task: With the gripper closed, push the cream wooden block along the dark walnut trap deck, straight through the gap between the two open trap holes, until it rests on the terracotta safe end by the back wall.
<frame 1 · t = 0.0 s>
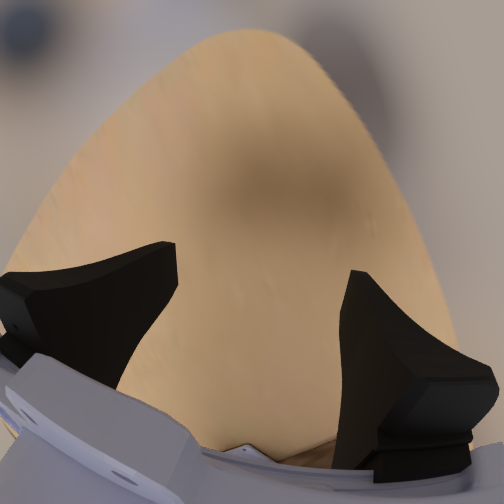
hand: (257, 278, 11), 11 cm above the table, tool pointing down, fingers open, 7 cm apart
trap deck: (359, 484, 28), on the table
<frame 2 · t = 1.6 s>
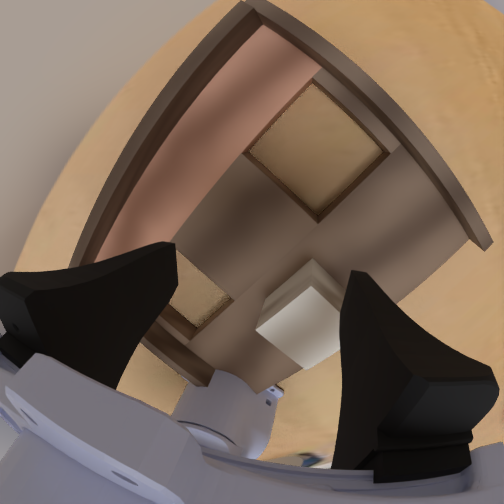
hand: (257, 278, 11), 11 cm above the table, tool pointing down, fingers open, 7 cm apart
trap deck: (258, 238, 22), on the table
block: (311, 300, 21), point 2 cm above the table, touching trap deck
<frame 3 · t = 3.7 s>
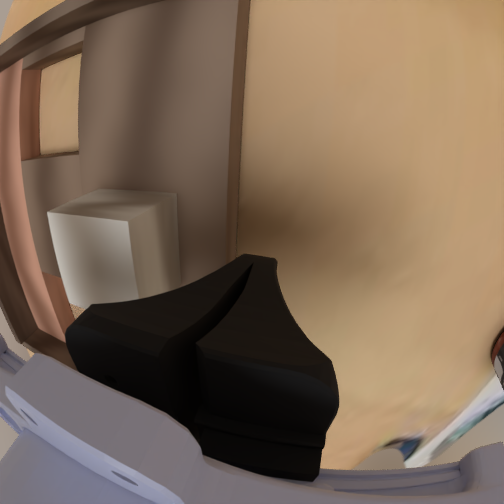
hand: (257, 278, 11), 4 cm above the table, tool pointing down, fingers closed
trap deck: (86, 214, 17), on the table
block: (137, 235, 15), point 2 cm above the table, touching trap deck
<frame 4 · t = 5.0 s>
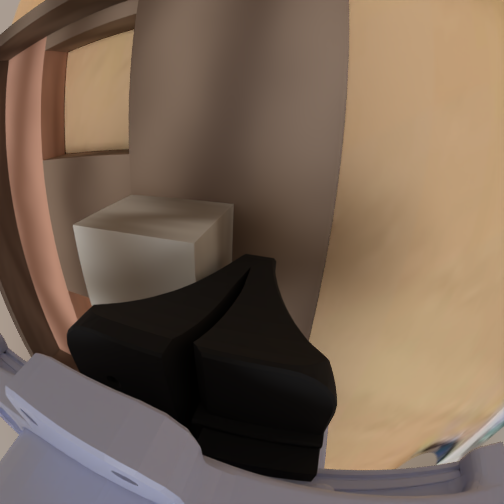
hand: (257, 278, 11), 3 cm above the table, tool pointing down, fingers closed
trap deck: (127, 226, 16), on the table
block: (180, 250, 13), point 2 cm above the table, touching gripper, trap deck
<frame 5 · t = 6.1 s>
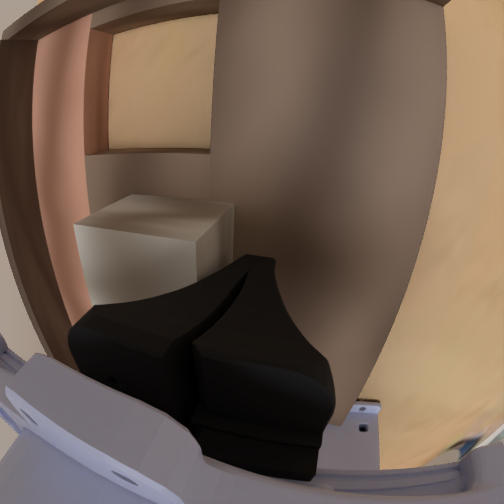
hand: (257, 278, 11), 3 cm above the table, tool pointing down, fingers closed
trap deck: (187, 233, 15), on the table
block: (180, 250, 13), point 2 cm above the table, touching gripper, trap deck
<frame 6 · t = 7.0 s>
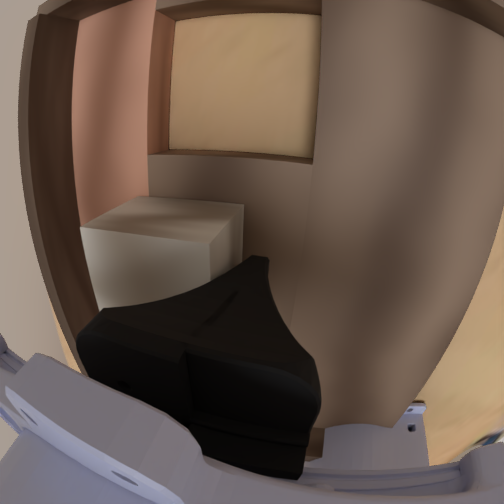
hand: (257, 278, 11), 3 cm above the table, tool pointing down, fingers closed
trap deck: (262, 245, 14), on the table
block: (188, 252, 13), point 2 cm above the table, touching gripper
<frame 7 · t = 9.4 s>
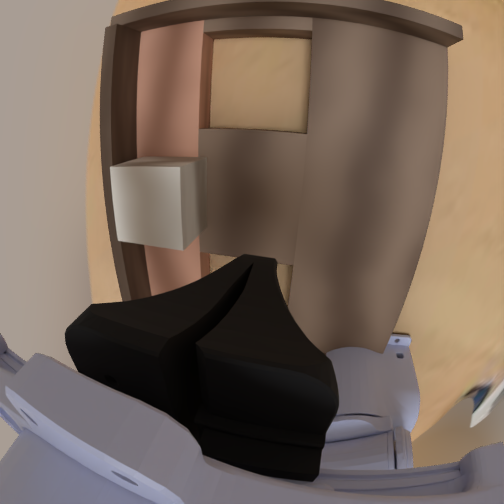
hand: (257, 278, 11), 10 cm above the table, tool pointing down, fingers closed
trap deck: (274, 192, 20), on the table
block: (174, 190, 20), point 2 cm above the table, touching trap deck
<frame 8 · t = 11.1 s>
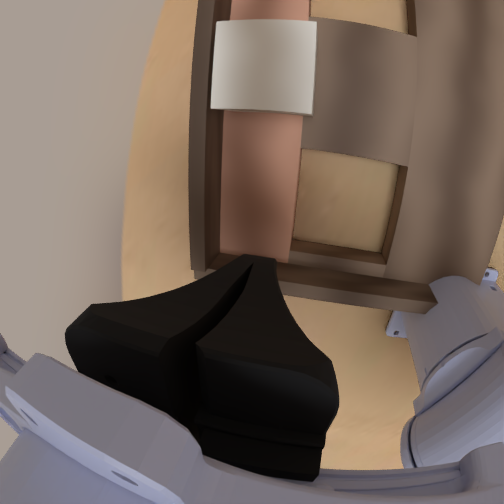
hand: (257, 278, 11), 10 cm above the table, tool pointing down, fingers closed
trap deck: (379, 94, 16), on the table
block: (274, 75, 15), point 2 cm above the table, touching trap deck
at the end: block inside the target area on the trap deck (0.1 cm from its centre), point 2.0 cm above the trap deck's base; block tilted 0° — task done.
